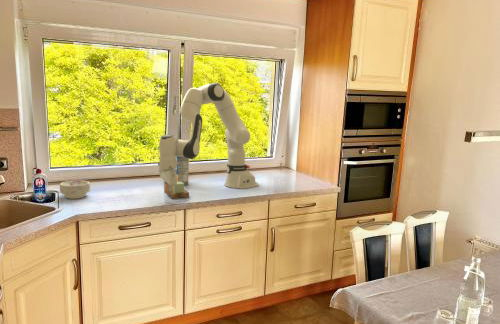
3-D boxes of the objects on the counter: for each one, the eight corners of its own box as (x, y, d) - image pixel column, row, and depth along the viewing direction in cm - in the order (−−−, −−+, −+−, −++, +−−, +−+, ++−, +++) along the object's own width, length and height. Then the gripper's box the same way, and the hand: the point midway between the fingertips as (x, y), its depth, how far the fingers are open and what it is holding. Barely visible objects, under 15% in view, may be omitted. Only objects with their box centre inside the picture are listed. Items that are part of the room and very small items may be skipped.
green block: (184, 192, 218) (184, 183, 217) (174, 192, 216) (174, 184, 215) (181, 189, 223) (181, 181, 222) (172, 190, 220) (172, 182, 219)
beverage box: (177, 186, 241) (178, 151, 236) (173, 182, 250) (173, 149, 246) (188, 185, 244) (188, 151, 239) (183, 181, 253) (183, 148, 249)
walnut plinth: (183, 192, 226) (183, 188, 226) (189, 197, 218) (189, 192, 217) (167, 194, 222) (167, 189, 221) (172, 198, 213) (172, 194, 213)
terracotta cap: (171, 191, 210) (171, 182, 209) (173, 193, 206) (173, 184, 205) (163, 192, 208) (163, 183, 207) (165, 194, 204) (165, 185, 203)
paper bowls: (82, 191, 220) (81, 178, 219) (95, 196, 211) (95, 183, 209) (55, 196, 209) (54, 182, 207) (68, 202, 199) (67, 187, 198)
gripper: (179, 168, 196) (180, 193, 199) (168, 161, 214) (168, 184, 217) (167, 169, 193) (168, 195, 196) (157, 161, 211) (157, 185, 214)
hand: (168, 189), depth 207 cm, fingers closed on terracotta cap, 4 cm apart
